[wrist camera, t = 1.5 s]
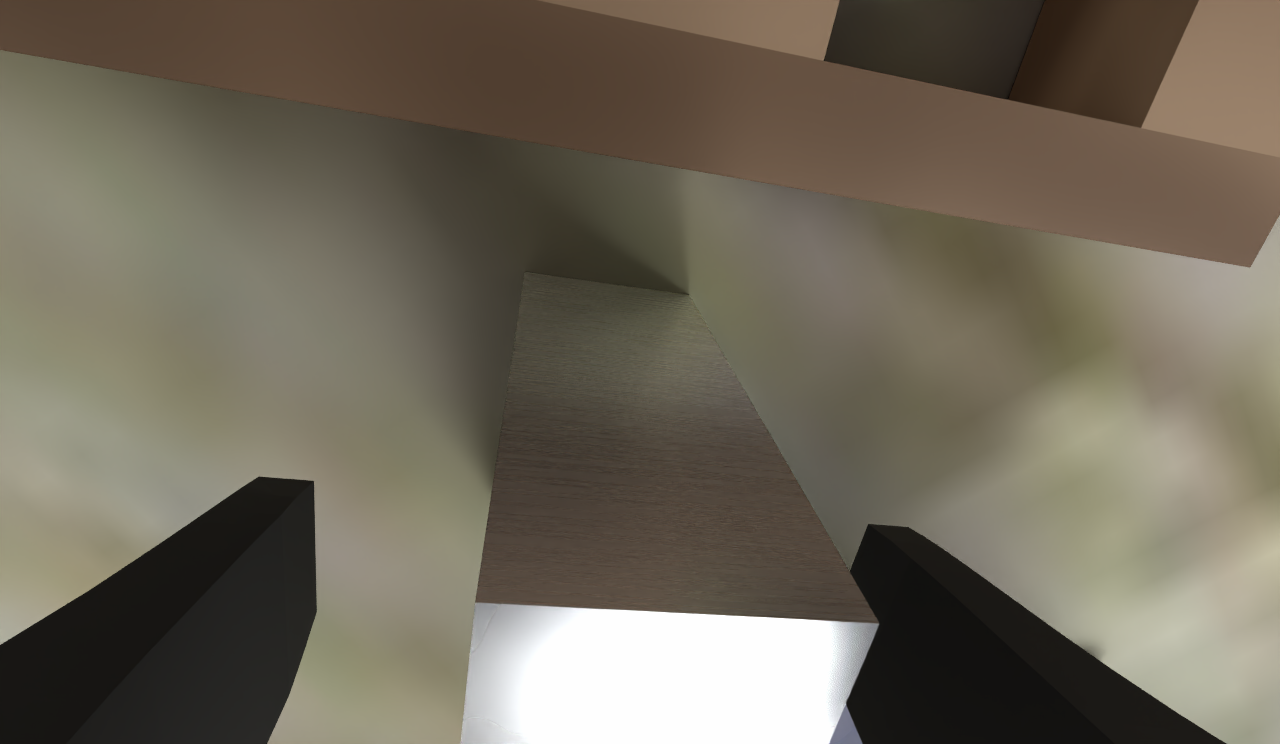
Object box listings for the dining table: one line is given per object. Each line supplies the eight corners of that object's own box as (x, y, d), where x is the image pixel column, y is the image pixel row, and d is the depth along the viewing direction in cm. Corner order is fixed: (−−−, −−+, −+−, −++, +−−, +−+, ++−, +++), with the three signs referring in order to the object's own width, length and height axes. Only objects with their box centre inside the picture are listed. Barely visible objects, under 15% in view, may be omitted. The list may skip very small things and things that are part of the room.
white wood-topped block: (630, 561, 15) (704, 1039, 7) (493, 552, 14) (428, 1056, 7) (688, 294, 12) (878, 624, 5) (524, 272, 12) (476, 602, 5)
